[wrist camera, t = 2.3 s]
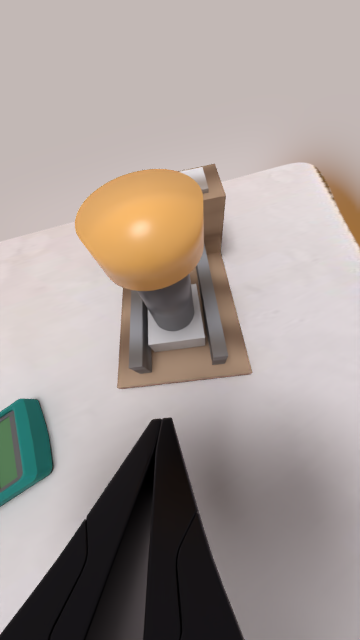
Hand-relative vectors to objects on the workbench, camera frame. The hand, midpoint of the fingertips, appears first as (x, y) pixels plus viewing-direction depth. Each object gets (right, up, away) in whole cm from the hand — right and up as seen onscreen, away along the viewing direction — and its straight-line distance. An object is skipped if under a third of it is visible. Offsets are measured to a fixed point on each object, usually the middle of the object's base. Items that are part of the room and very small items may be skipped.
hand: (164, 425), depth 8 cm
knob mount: (0, +8, +15) cm, 17 cm away
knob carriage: (0, +4, +12) cm, 13 cm away
